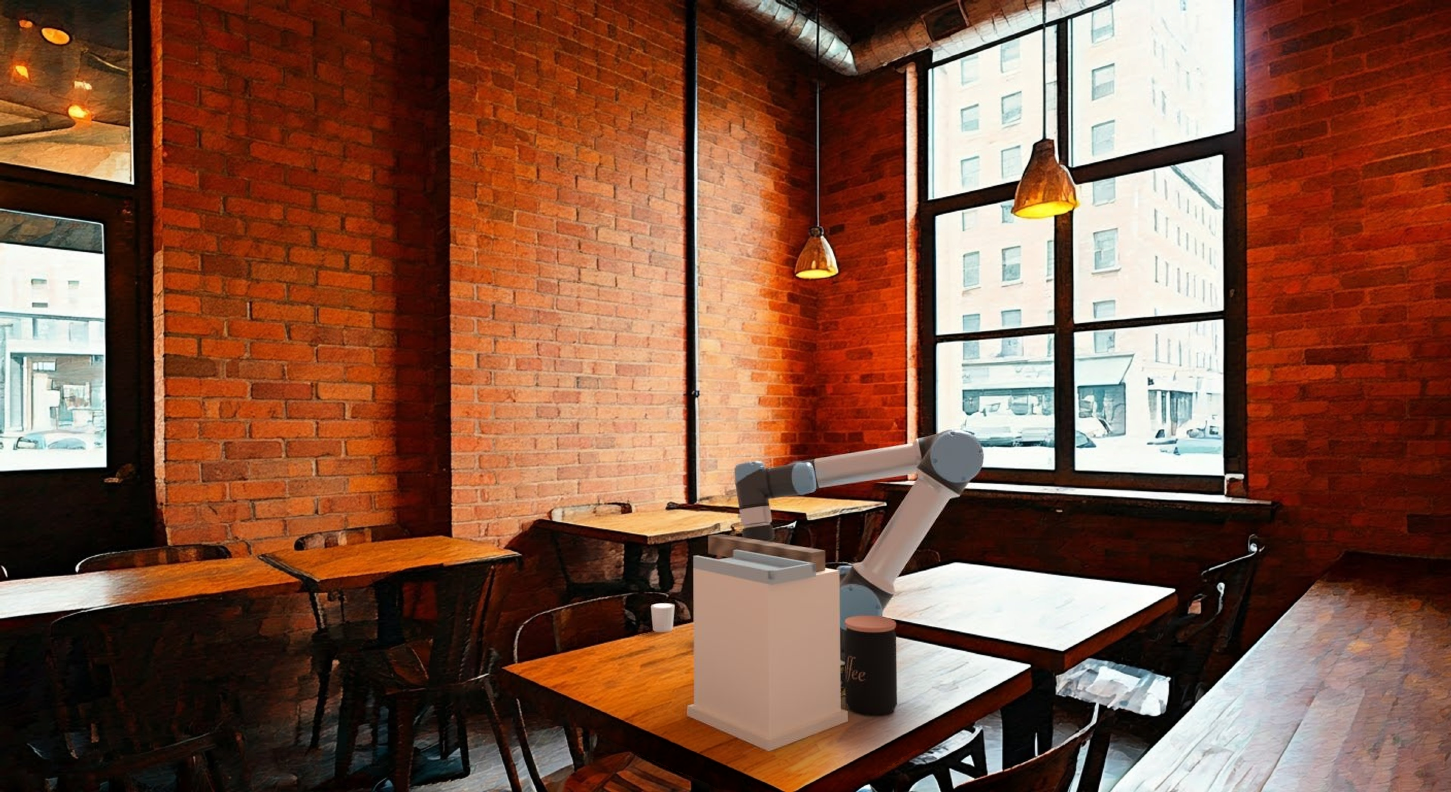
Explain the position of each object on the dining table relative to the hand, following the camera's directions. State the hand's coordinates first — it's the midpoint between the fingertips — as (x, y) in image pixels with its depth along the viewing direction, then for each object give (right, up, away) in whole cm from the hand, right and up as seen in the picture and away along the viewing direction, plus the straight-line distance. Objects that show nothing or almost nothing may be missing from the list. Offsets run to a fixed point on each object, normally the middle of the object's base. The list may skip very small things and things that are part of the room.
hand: (769, 615), depth 192 cm
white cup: (-29, -15, +41) cm, 52 cm away
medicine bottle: (+11, -14, -14) cm, 23 cm away
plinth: (-2, -13, -29) cm, 32 cm away
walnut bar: (-2, +17, -19) cm, 25 cm away
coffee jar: (+20, -13, -23) cm, 34 cm away
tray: (-5, +17, -31) cm, 36 cm away
